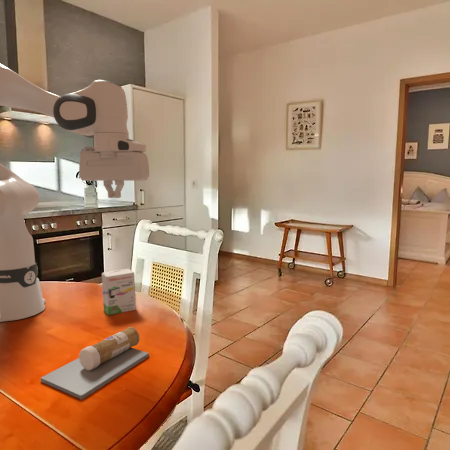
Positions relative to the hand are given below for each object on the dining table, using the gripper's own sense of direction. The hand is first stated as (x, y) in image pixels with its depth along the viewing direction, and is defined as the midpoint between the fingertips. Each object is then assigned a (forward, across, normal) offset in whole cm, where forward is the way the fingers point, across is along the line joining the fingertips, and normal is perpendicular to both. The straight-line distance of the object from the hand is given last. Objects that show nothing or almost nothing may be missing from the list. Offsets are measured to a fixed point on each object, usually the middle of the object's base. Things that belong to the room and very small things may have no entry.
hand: (114, 197), depth 99 cm
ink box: (+34, -4, +5) cm, 35 cm away
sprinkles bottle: (+31, +14, -14) cm, 37 cm away
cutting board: (+34, +12, -24) cm, 43 cm away
